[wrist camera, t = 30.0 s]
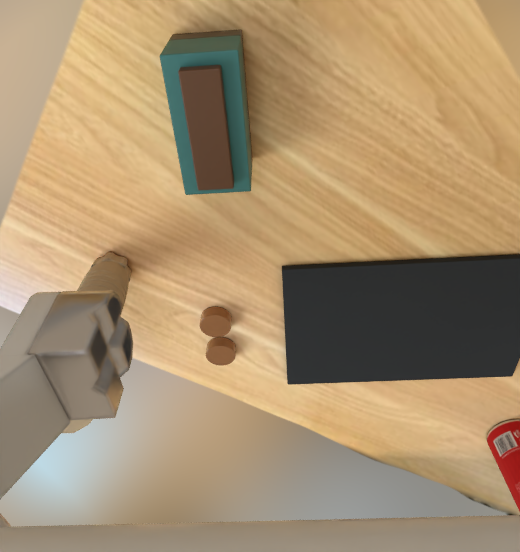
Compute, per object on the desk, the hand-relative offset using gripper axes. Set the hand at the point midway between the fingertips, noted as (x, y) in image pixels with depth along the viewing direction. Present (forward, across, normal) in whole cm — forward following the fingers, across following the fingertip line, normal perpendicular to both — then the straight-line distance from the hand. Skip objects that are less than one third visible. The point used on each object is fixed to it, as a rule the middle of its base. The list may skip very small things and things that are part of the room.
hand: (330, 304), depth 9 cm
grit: (+27, +8, +30) cm, 41 cm away
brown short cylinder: (+27, +8, +26) cm, 38 cm away
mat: (+27, -11, +28) cm, 40 cm away
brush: (+27, +5, +5) cm, 28 cm away
